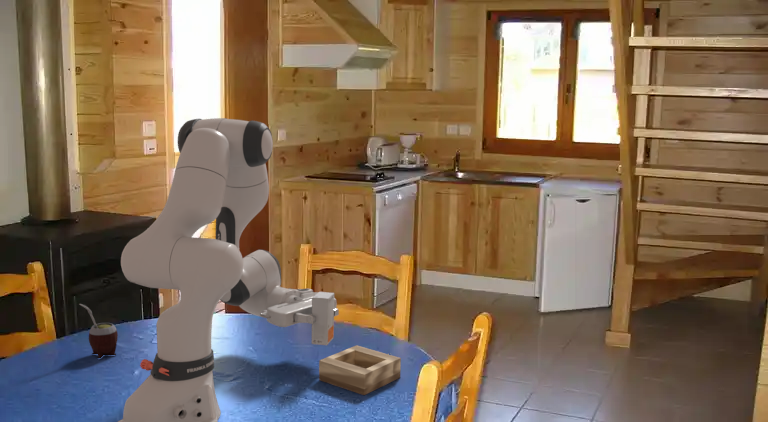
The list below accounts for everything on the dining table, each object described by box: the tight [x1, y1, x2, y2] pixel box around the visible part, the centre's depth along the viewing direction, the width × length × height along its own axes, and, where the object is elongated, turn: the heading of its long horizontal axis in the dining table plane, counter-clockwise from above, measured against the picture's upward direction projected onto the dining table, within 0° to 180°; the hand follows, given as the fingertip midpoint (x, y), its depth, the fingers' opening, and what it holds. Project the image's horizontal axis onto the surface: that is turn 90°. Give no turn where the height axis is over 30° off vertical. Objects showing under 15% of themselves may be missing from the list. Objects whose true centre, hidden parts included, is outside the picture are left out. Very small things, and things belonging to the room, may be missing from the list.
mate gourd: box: [78, 303, 119, 359], centre depth 196 cm, size 8×8×15 cm
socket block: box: [318, 345, 402, 396], centre depth 184 cm, size 14×14×5 cm
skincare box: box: [311, 291, 335, 346], centre depth 189 cm, size 6×4×12 cm
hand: (325, 316), depth 188 cm, fingers closed on skincare box, 7 cm apart
